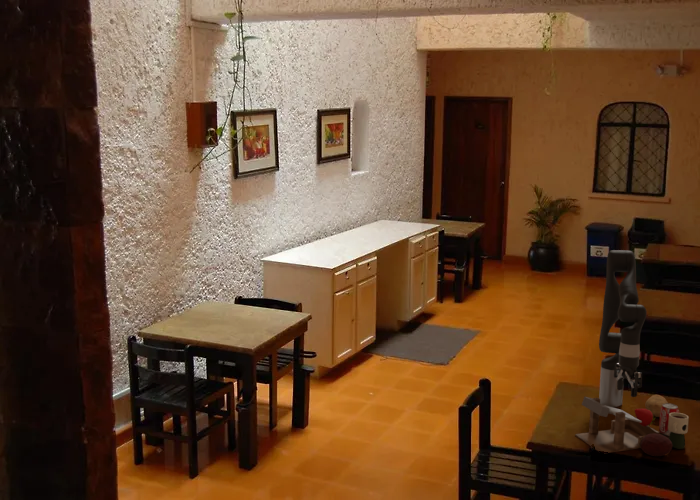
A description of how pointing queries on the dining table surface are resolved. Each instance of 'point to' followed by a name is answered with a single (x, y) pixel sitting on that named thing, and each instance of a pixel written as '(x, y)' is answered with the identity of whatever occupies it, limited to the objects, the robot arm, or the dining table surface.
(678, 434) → the character mug
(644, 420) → the strawberry
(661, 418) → the soda can
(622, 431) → the stand
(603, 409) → the trapdoor
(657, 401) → the potato
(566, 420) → the dining table surface
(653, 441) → the potato
